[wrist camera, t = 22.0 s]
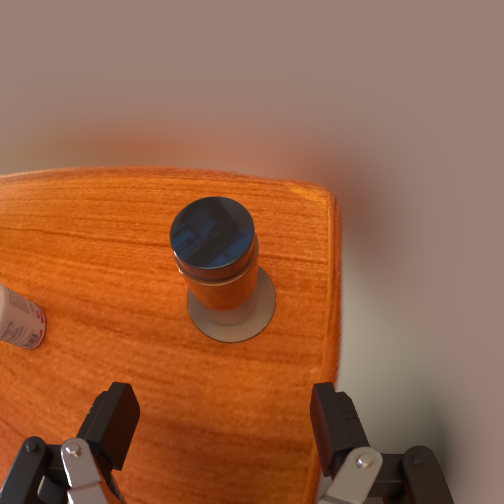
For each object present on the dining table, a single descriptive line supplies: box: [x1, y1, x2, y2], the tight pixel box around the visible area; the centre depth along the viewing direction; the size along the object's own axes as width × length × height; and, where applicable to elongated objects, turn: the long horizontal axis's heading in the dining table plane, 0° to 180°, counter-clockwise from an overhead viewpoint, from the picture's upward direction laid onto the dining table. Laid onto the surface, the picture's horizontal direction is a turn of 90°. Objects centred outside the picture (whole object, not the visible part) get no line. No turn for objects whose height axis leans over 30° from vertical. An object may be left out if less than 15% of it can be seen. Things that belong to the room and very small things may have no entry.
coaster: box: [187, 266, 276, 343], centre depth 22 cm, size 7×7×1 cm
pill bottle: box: [0, 284, 45, 349], centre depth 17 cm, size 5×5×8 cm
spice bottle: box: [170, 197, 259, 326], centre depth 17 cm, size 4×4×10 cm
